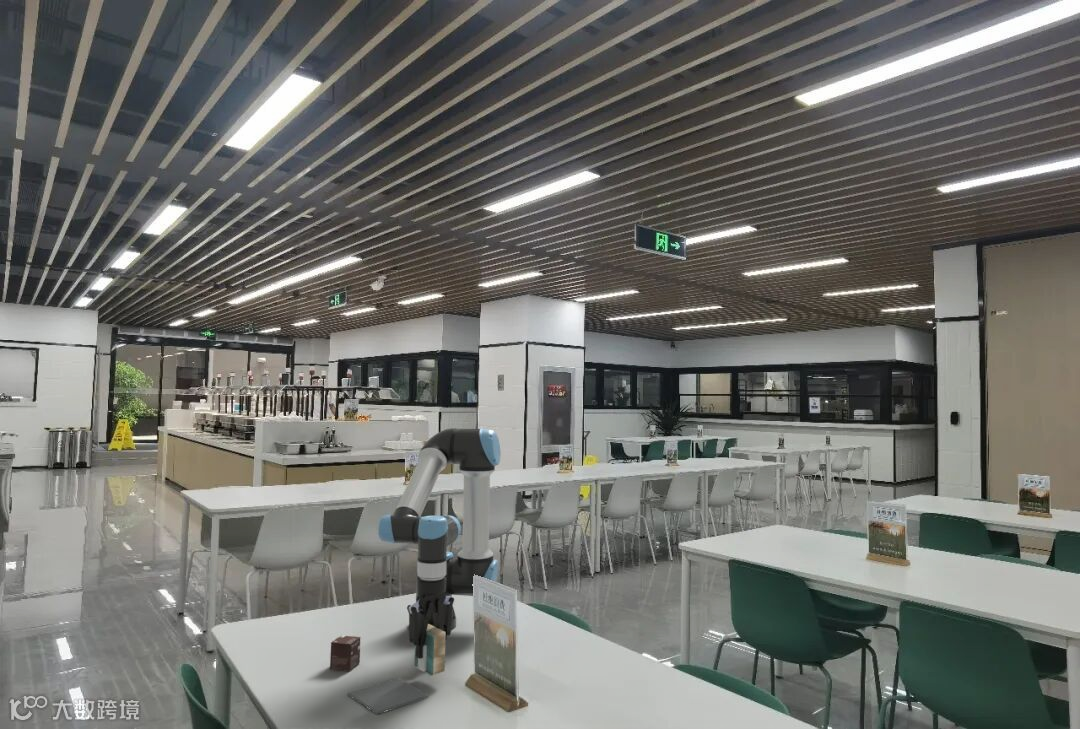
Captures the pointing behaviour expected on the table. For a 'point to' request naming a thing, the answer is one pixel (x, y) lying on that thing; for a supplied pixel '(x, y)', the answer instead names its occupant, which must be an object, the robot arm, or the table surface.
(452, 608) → the robot arm
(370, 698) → the mat
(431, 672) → the slab
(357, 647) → the box
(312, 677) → the table surface
